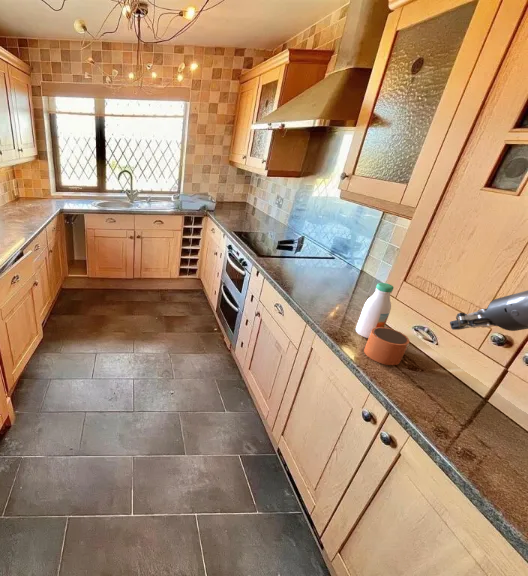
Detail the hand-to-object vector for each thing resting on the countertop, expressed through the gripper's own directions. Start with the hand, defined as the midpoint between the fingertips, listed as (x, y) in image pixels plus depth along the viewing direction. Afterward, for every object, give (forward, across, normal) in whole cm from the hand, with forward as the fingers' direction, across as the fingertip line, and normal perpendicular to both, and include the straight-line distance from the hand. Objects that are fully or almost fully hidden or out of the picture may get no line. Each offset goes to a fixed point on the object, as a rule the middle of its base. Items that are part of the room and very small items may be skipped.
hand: (453, 325), depth 81 cm
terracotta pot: (+25, +3, +5) cm, 25 cm away
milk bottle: (+34, 0, -4) cm, 34 cm away
